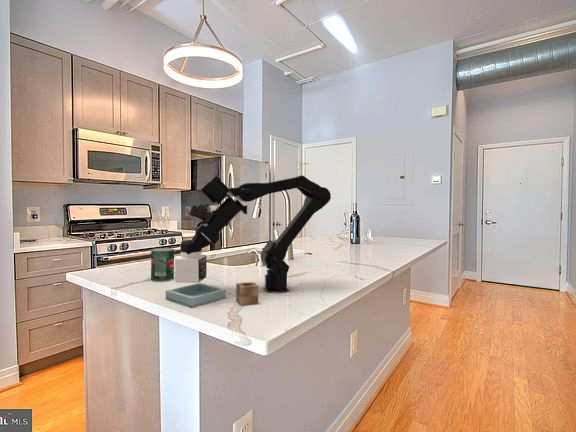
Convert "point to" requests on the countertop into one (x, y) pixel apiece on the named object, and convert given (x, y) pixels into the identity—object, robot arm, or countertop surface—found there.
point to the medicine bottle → (190, 265)
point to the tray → (195, 295)
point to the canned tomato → (162, 264)
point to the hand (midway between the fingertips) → (186, 251)
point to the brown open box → (247, 293)
